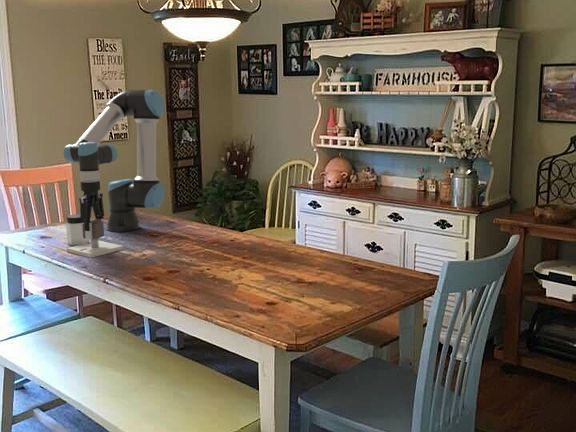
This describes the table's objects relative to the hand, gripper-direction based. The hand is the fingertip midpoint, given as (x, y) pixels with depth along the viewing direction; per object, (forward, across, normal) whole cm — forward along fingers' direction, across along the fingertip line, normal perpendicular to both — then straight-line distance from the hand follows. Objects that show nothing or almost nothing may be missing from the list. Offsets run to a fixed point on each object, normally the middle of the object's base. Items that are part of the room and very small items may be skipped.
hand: (93, 236), depth 268 cm
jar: (+6, -10, -14) cm, 19 cm away
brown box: (0, 0, 0) cm, 0 cm away
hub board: (+6, 0, 0) cm, 6 cm away
